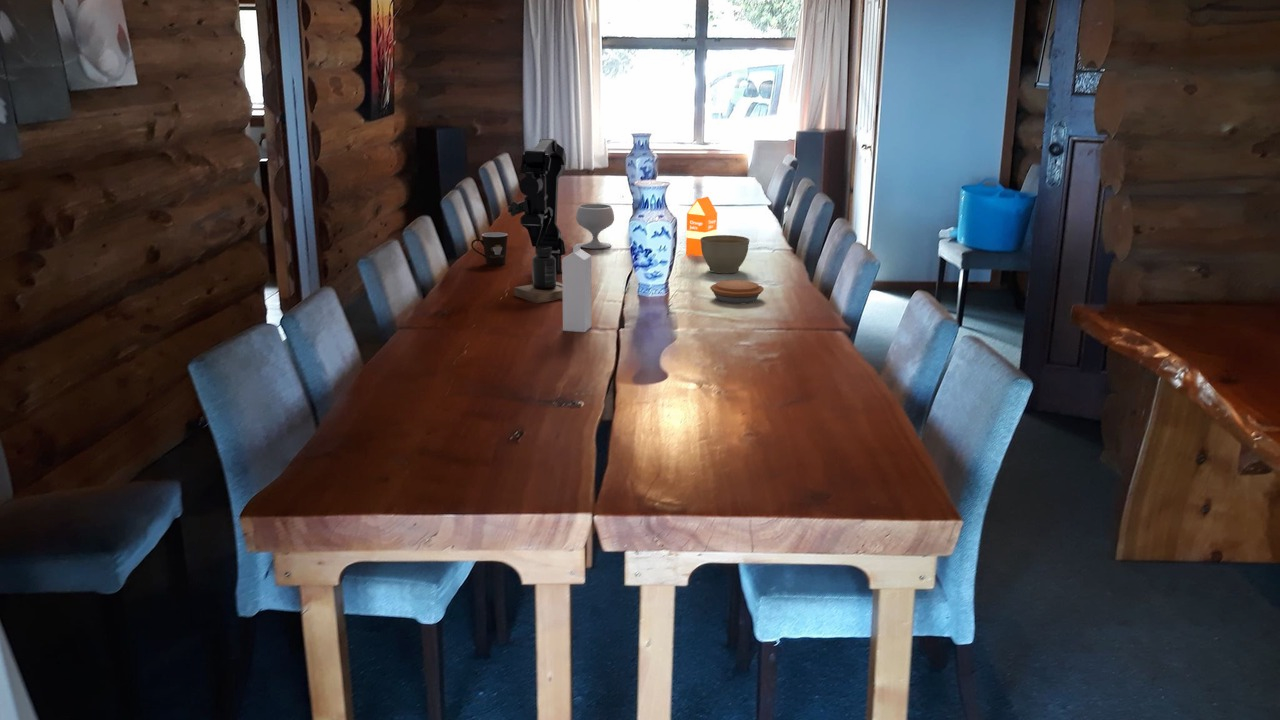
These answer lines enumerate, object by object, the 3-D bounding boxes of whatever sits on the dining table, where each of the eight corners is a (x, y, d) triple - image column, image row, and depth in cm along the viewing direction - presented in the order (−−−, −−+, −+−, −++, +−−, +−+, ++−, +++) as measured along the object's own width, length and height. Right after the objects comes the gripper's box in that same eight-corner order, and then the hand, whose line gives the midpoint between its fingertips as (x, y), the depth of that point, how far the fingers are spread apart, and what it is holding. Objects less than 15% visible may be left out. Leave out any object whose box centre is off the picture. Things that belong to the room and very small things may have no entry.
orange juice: (716, 252, 370) (718, 197, 364) (704, 256, 363) (706, 200, 357) (697, 250, 374) (699, 195, 368) (685, 254, 367) (686, 198, 361)
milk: (562, 331, 263) (561, 246, 257) (570, 325, 269) (568, 242, 262) (585, 332, 262) (584, 247, 255) (592, 326, 267) (591, 243, 261)
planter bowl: (748, 267, 345) (749, 235, 342) (748, 277, 330) (749, 243, 327) (700, 265, 347) (701, 233, 344) (698, 275, 331) (699, 242, 328)
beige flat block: (553, 289, 309) (553, 280, 308) (576, 296, 300) (576, 287, 299) (514, 295, 301) (513, 286, 300) (536, 303, 292) (536, 293, 291)
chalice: (592, 241, 388) (592, 202, 384) (621, 246, 381) (621, 205, 376) (568, 247, 377) (568, 206, 373) (598, 251, 370) (598, 210, 365)
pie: (699, 299, 299) (699, 283, 298) (731, 291, 310) (732, 275, 309) (741, 308, 289) (741, 291, 288) (773, 299, 300) (774, 283, 298)
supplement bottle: (556, 285, 303) (556, 245, 300) (555, 290, 297) (555, 249, 293) (533, 285, 303) (532, 245, 300) (532, 290, 296) (531, 249, 293)
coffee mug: (510, 261, 349) (510, 232, 346) (505, 266, 341) (504, 237, 338) (477, 260, 350) (476, 231, 347) (471, 265, 342) (470, 236, 339)
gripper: (517, 187, 315) (518, 237, 320) (502, 195, 297) (504, 248, 302) (552, 188, 314) (553, 239, 319) (540, 196, 296) (541, 249, 301)
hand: (537, 243), depth 310 cm, fingers open, 9 cm apart
